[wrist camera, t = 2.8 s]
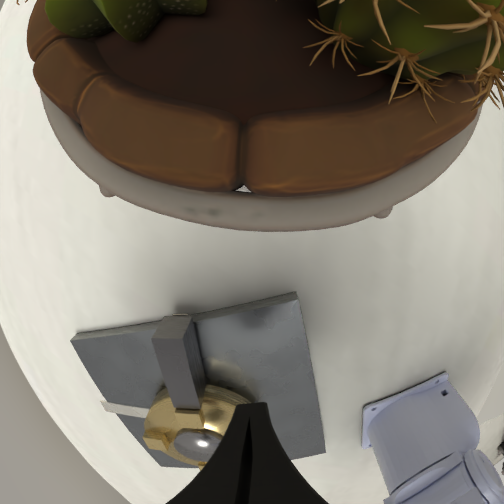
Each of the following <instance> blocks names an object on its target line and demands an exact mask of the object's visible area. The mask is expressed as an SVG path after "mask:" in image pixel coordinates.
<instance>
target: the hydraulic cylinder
mask: <svg viewBox="0 0 504 504" xmlns="http://www.w3.org/2000/svg"><path fill="white" fill-rule="evenodd" d="M498 453H499V454H501V453H502V454H503V455H504V443H502V444H501V445H500V446H499V449H498ZM502 470H503V471H502V474H503V475H504V463H503V468H502Z"/></svg>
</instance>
